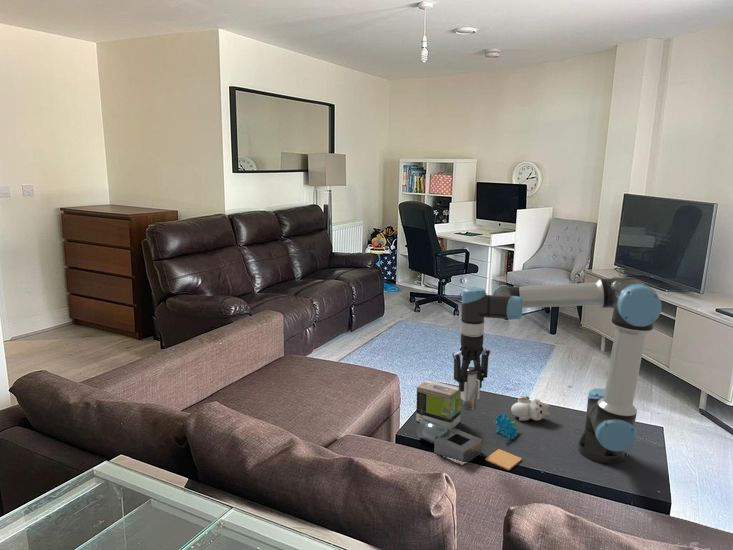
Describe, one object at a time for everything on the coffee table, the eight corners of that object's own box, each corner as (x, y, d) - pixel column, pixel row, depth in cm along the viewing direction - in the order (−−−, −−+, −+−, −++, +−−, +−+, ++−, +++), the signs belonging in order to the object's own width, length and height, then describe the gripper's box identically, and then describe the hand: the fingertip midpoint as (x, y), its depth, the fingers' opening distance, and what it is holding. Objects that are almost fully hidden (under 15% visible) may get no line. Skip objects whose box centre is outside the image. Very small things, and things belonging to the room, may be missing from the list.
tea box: (460, 421, 210) (462, 386, 206) (449, 432, 201) (451, 395, 198) (427, 411, 218) (428, 378, 215) (415, 421, 210) (416, 386, 207)
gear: (507, 440, 192) (493, 415, 196) (495, 447, 195) (483, 422, 200) (524, 435, 199) (510, 410, 204) (512, 441, 203) (500, 417, 207)
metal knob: (471, 403, 186) (473, 365, 183) (480, 409, 181) (481, 371, 178) (458, 405, 184) (460, 367, 181) (466, 412, 179) (468, 373, 176)
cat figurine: (510, 395, 212) (549, 395, 208) (510, 398, 219) (548, 398, 215) (511, 420, 209) (551, 420, 205) (511, 421, 216) (550, 422, 212)
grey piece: (481, 452, 187) (482, 434, 186) (462, 466, 178) (463, 447, 177) (431, 431, 202) (432, 414, 200) (412, 442, 193) (412, 424, 192)
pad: (521, 460, 182) (522, 458, 182) (508, 470, 176) (508, 468, 176) (498, 450, 188) (498, 448, 188) (485, 460, 182) (485, 458, 182)
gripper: (488, 327, 183) (485, 390, 188) (443, 333, 178) (442, 397, 182) (500, 333, 176) (497, 398, 181) (454, 339, 171) (452, 407, 175)
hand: (469, 398), depth 182 cm, fingers closed on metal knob, 4 cm apart
